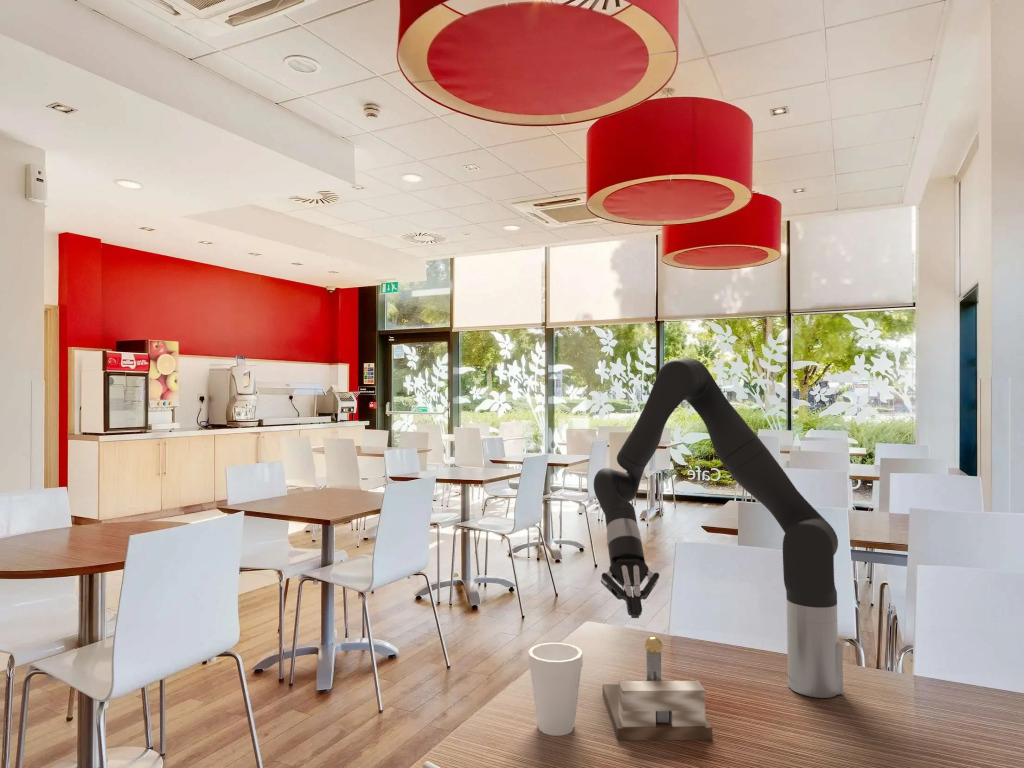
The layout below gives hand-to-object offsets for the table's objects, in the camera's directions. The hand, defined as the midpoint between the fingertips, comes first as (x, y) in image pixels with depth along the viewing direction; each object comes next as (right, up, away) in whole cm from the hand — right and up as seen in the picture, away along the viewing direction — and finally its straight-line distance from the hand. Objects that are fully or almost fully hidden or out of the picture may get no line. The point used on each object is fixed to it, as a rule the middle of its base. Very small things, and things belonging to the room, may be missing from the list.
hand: (635, 616), depth 139 cm
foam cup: (-18, -13, -20) cm, 30 cm away
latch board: (0, -13, -16) cm, 20 cm away
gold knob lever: (0, -10, -19) cm, 22 cm away
